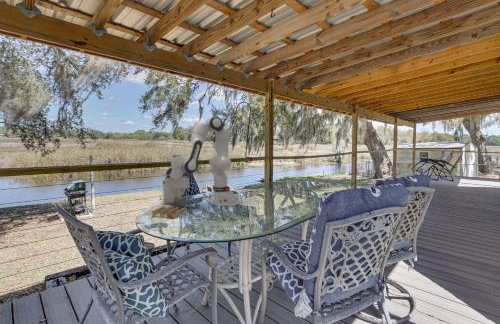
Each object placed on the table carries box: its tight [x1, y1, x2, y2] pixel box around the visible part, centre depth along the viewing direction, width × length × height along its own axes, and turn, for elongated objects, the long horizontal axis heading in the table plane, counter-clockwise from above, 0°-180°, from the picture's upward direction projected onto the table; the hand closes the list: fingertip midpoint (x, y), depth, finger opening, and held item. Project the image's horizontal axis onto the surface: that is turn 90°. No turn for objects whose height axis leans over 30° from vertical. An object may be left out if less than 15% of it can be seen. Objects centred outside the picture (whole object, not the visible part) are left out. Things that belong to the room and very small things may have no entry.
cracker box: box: [162, 178, 183, 205], centre depth 236 cm, size 14×6×21 cm, turn 84°
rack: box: [151, 205, 188, 220], centre depth 203 cm, size 19×17×4 cm
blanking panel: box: [172, 197, 186, 210], centre depth 221 cm, size 3×12×7 cm, turn 163°
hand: (177, 193), depth 220 cm, fingers open, 8 cm apart
